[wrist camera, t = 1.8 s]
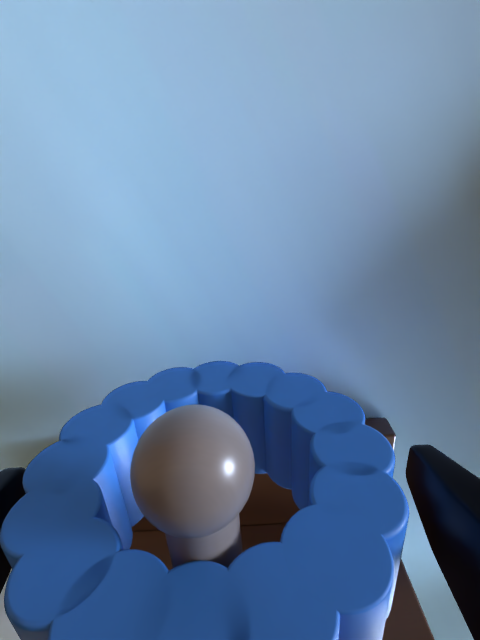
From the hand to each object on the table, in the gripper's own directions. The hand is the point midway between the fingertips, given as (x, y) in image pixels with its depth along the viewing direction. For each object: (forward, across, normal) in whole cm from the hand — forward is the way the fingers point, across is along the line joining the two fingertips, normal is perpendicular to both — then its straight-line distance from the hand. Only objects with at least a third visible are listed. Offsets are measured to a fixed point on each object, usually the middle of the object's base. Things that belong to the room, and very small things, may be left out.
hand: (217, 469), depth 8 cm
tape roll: (-1, 0, 0) cm, 1 cm away
